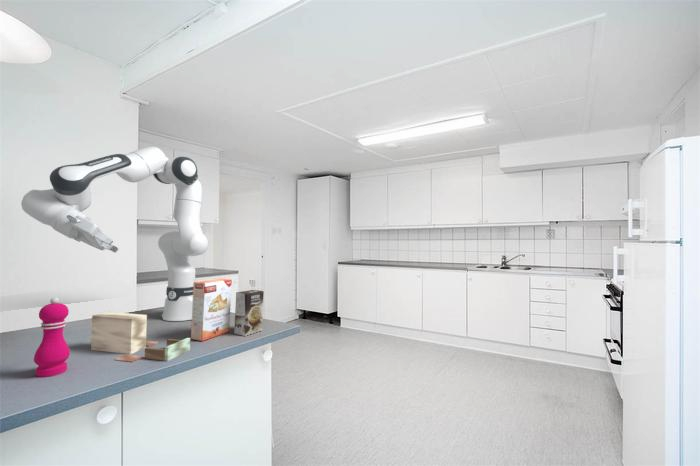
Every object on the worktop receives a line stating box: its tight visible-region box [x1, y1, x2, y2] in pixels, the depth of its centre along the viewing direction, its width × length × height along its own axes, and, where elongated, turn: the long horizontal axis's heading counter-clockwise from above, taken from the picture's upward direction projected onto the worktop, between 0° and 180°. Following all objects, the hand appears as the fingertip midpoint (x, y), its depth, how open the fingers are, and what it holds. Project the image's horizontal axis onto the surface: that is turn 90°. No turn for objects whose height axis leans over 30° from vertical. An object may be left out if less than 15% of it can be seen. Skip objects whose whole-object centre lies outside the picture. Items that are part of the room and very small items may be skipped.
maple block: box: [90, 311, 148, 355], centre depth 109 cm, size 6×15×11 cm, turn 79°
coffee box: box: [233, 289, 265, 337], centre depth 131 cm, size 9×6×16 cm
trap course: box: [114, 337, 191, 363], centre depth 107 cm, size 17×21×4 cm
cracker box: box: [190, 278, 233, 342], centre depth 126 cm, size 14×6×21 cm, turn 158°
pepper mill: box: [33, 297, 71, 378], centre depth 90 cm, size 7×7×20 cm
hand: (114, 246), depth 115 cm, fingers open, 8 cm apart
